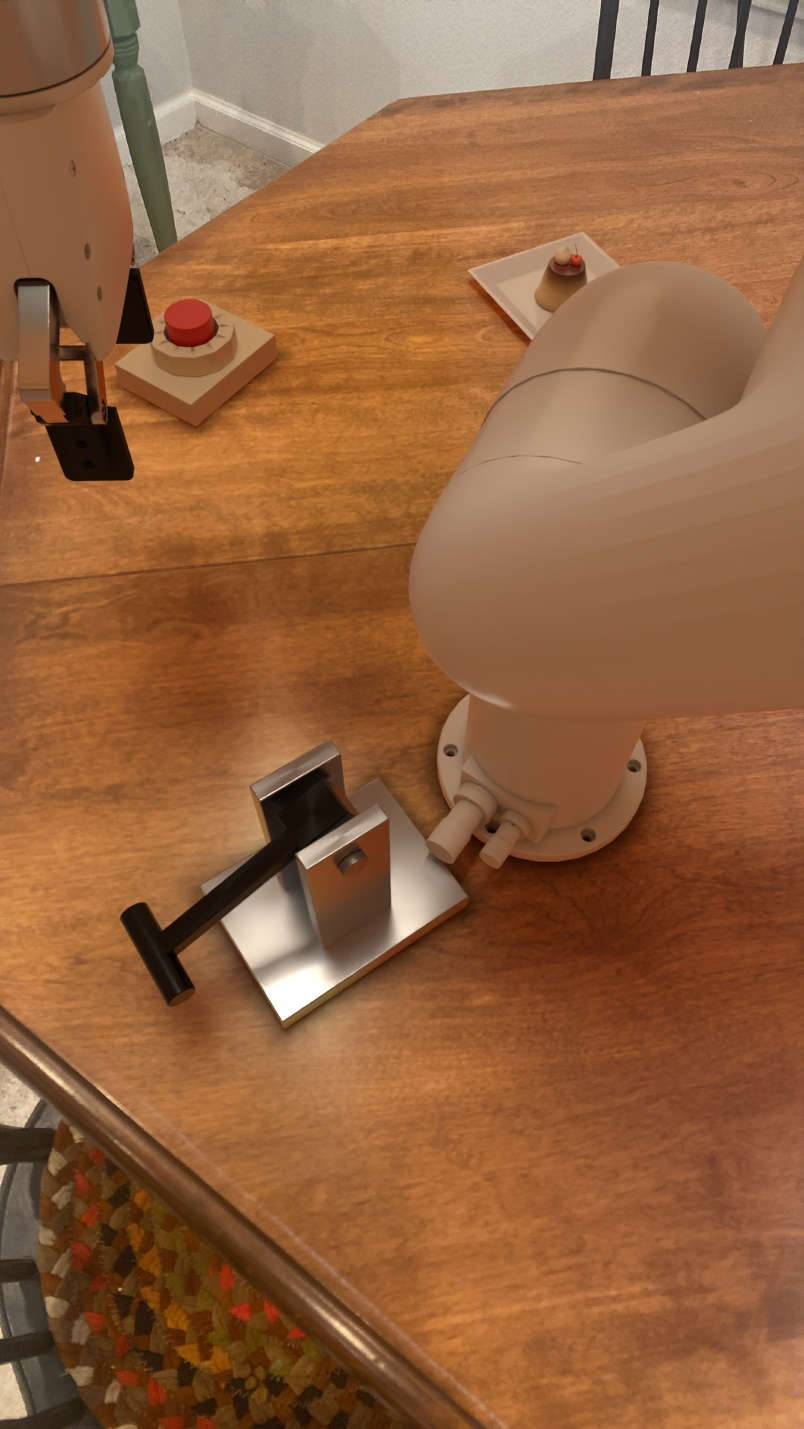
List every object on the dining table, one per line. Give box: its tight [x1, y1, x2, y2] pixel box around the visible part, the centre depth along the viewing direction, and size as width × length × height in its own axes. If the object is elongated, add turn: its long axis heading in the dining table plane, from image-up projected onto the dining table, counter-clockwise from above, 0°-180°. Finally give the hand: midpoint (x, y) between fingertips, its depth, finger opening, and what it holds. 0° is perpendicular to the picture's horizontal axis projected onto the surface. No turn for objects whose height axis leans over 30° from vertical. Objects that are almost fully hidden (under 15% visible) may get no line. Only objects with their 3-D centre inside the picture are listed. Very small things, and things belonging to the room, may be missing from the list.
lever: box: [119, 777, 359, 1008], centre depth 44 cm, size 12×5×2 cm, turn 124°
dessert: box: [467, 230, 622, 341], centre depth 79 cm, size 12×12×5 cm
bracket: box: [198, 738, 470, 1029], centre depth 48 cm, size 12×9×13 cm
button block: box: [113, 298, 279, 427], centre depth 75 cm, size 10×8×4 cm
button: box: [164, 298, 215, 348], centre depth 73 cm, size 4×4×2 cm
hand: (113, 404), depth 47 cm, fingers open, 9 cm apart
